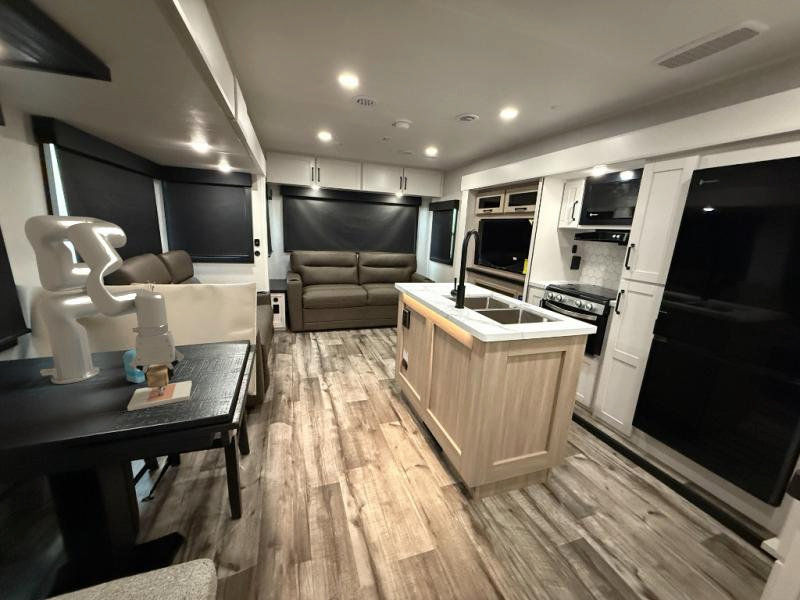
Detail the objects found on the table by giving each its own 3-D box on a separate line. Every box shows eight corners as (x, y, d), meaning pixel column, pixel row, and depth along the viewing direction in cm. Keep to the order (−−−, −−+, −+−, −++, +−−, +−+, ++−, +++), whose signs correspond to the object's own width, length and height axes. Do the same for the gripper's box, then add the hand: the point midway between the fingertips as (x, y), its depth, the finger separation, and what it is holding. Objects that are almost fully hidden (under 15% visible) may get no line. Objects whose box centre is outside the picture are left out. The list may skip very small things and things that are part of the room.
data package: (136, 384, 112) (131, 354, 109) (126, 382, 113) (122, 352, 110) (167, 371, 123) (164, 343, 121) (159, 369, 124) (155, 341, 122)
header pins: (158, 396, 103) (157, 388, 102) (160, 389, 107) (159, 381, 107) (163, 395, 103) (162, 387, 103) (165, 388, 108) (164, 380, 107)
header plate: (128, 411, 97) (127, 406, 96) (137, 393, 107) (136, 389, 106) (188, 399, 105) (188, 395, 104) (191, 384, 115) (191, 380, 114)
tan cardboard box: (148, 388, 99) (146, 374, 98) (153, 376, 107) (151, 363, 106) (167, 385, 102) (165, 371, 101) (171, 374, 109) (169, 361, 108)
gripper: (116, 336, 93) (124, 390, 97) (183, 330, 101) (189, 380, 105) (123, 329, 99) (130, 380, 103) (186, 324, 108) (191, 371, 112)
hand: (160, 379), depth 104 cm, fingers closed on tan cardboard box, 5 cm apart
